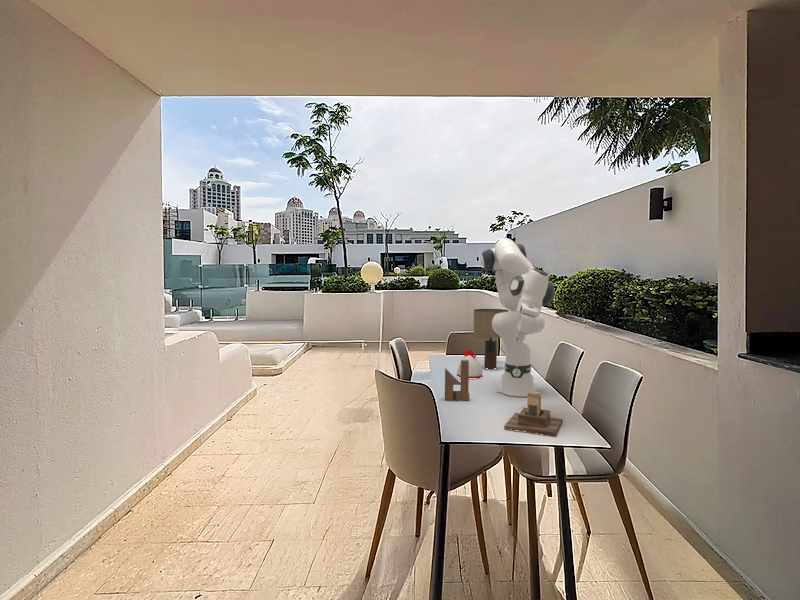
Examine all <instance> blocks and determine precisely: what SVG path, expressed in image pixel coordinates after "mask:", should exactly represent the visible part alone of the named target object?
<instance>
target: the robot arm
mask: <svg viewBox="0 0 800 600" xmlns="http://www.w3.org/2000/svg"><path fill="white" fill-rule="evenodd" d="M527 256H528V253H527V249H526V248H525V246H524V245H523V244H521V243H516V242H515V241H514V240H512V239H510V238H507V237H504V238H500V239H499V240H498V241H497V242H496V243H495V245H494V247H493V248H489V249H485V250H484V251H482V253H481V256H480V264H481V266H482V267H483V270H485V271H487V272H492V271H495V275H494V276H495V278H494V279H495V285H496V290H497V294H498V297H499V301H500V304H501V306H502V307H504V308H506V310H509V312H502V313H498V314H496V315H495V316H494V317H493V320H492V327H493V330H494V331H495V332H496V333H497V334H498V335H499V336H500V337H501V338H500V339H502V341H503V343H504V344H503V345H504V348H505V363H504V372H503V373H502V374H501V378H500V379H501V380H500V382H501V383H500V387H499V388H498V389H497V390H496V392H497V393H501V394H504V395H505V394H506V395H505V396H509V397H518V398H519V397H522V398H524V397H528V393H529V392H530V391H535V392H538V391H537V388H535V383H534V382H535V381H534V376H533V375H532V374H531V371H532V367H531V366H532V365H531V349H530V347H529V346H528V345H527V344H526V343H524V340H525V338H526V335H527V336H528V335H534V334H537V333H541V332H542V331H543V329H544V328H545V325H546V322H545V318H544V316H543V314H542V313H541V310H542V308H543V307H544V306H546V305H548V304H551V302H552V301H553V300H554V298H555V295H556V292H555V291H556V290H555V288H554V285H553V283H551V282H549V280H550V275H549V274H548V273H547V272H545V271H544V270H541V269H537V268H536V267H535V265H534V264H533V263H532V262H530V260H529V259H528V258H527Z"/></svg>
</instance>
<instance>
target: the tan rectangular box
mask: <svg viewBox="0 0 800 600" xmlns="http://www.w3.org/2000/svg"><path fill="white" fill-rule="evenodd" d="M526 401H527V407H526V408H527V415H534V416H541V410H542V392H541V391H537V392H535V391H530V392H529V393H528V396H527V400H526Z"/></svg>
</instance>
